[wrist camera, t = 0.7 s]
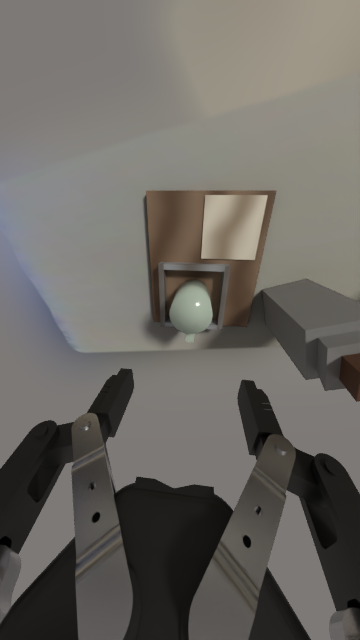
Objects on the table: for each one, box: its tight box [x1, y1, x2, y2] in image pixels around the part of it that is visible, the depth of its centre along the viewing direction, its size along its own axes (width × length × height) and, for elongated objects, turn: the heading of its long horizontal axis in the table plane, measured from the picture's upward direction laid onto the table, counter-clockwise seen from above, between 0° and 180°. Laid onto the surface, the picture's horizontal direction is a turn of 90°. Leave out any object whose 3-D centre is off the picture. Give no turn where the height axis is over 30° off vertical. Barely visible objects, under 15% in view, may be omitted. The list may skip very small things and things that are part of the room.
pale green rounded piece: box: [169, 279, 213, 342], centre depth 27 cm, size 6×8×8 cm
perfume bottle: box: [262, 279, 360, 401], centre depth 22 cm, size 7×7×18 cm
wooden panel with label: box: [146, 191, 276, 330], centre depth 27 cm, size 17×20×3 cm
